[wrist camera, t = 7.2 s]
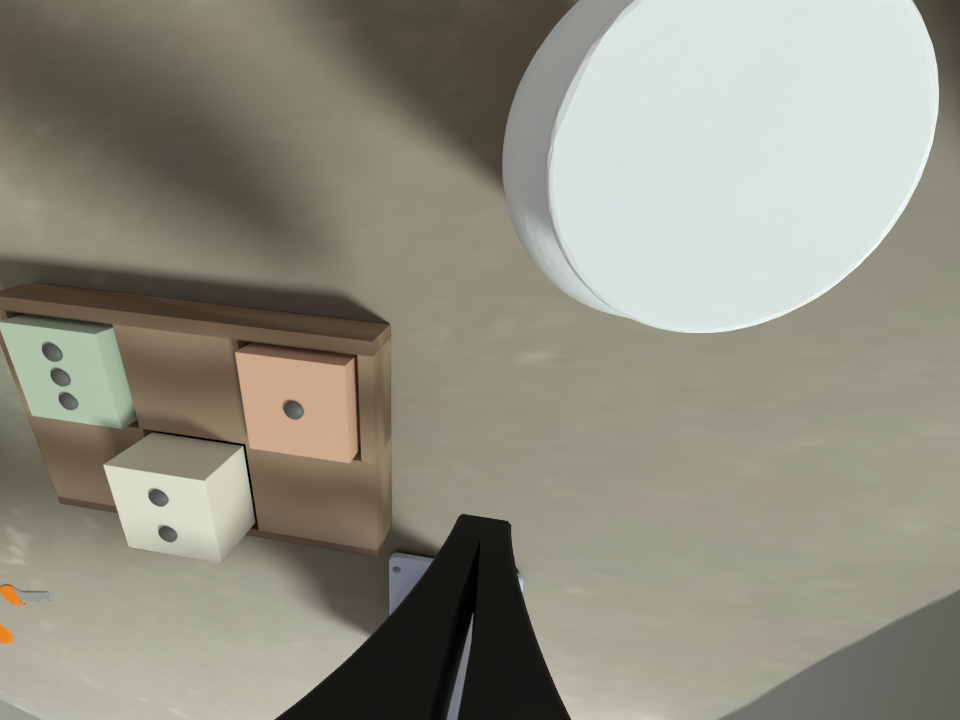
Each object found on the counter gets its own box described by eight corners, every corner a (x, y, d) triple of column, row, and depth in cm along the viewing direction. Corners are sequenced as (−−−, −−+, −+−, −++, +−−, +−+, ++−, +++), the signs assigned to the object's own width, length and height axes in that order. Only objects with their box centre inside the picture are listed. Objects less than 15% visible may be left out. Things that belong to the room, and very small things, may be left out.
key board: (391, 525, 26) (377, 557, 24) (98, 477, 28) (60, 503, 26) (390, 324, 21) (372, 341, 19) (34, 282, 23) (-19, 294, 21)
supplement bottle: (491, 158, 18) (374, 161, 6) (628, 7, 15) (845, -443, 4) (600, 278, 19) (665, 463, 8) (743, 158, 17) (1164, 165, 5)
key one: (371, 431, 24) (348, 464, 21) (281, 419, 24) (248, 449, 21) (368, 343, 22) (343, 367, 19) (271, 331, 22) (233, 353, 19)
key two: (255, 522, 25) (219, 565, 22) (171, 508, 25) (126, 548, 22) (242, 446, 23) (202, 482, 20) (152, 432, 23) (100, 466, 20)
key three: (165, 402, 25) (119, 430, 22) (84, 390, 25) (29, 416, 23) (145, 315, 23) (92, 335, 20) (57, 305, 23) (-6, 322, 21)
